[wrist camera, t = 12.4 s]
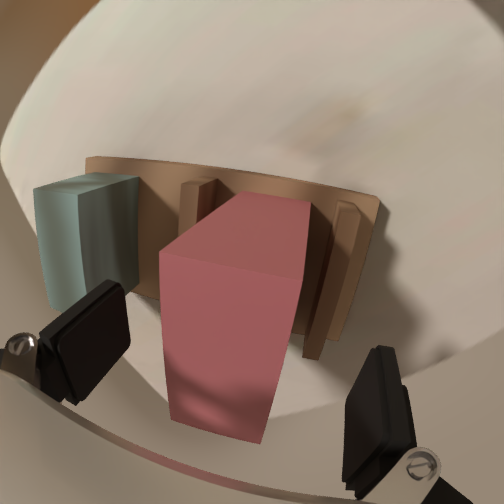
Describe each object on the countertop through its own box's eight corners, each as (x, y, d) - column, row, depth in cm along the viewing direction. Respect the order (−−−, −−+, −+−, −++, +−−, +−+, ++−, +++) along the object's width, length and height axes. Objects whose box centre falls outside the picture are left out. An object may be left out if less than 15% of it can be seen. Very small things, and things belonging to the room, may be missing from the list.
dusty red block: (310, 202, 17) (302, 280, 8) (287, 319, 20) (260, 444, 11) (242, 190, 17) (159, 251, 8) (230, 307, 20) (170, 419, 11)
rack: (376, 196, 17) (410, 231, 10) (337, 331, 21) (339, 405, 14) (95, 156, 20) (23, 171, 13) (99, 273, 24) (44, 314, 17)
